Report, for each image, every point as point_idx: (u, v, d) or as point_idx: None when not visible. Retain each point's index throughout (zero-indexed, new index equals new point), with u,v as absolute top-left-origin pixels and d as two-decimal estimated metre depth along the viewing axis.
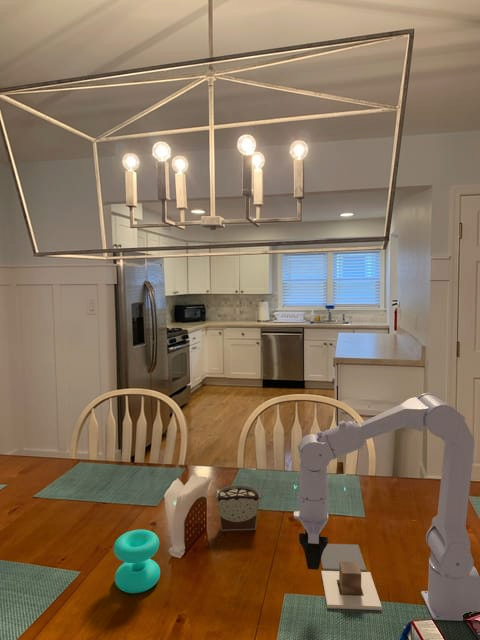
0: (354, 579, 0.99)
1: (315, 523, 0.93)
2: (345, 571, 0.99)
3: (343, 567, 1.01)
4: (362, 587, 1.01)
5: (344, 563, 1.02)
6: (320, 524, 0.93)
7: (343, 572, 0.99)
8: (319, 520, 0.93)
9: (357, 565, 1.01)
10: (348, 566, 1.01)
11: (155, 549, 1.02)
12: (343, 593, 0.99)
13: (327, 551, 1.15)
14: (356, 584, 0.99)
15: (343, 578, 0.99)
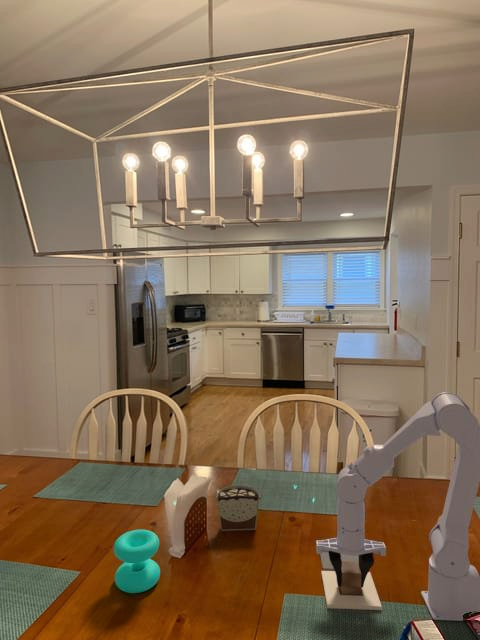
0: (354, 578, 0.99)
1: (336, 545, 1.00)
2: (345, 571, 0.99)
3: (343, 567, 1.01)
4: (362, 587, 1.01)
5: (344, 563, 1.02)
6: (337, 549, 0.99)
7: (343, 572, 0.99)
8: (339, 545, 0.99)
9: (357, 565, 1.01)
10: (348, 566, 1.01)
11: (155, 549, 1.02)
12: (343, 593, 0.99)
13: None
14: (356, 584, 0.99)
15: (343, 578, 0.99)
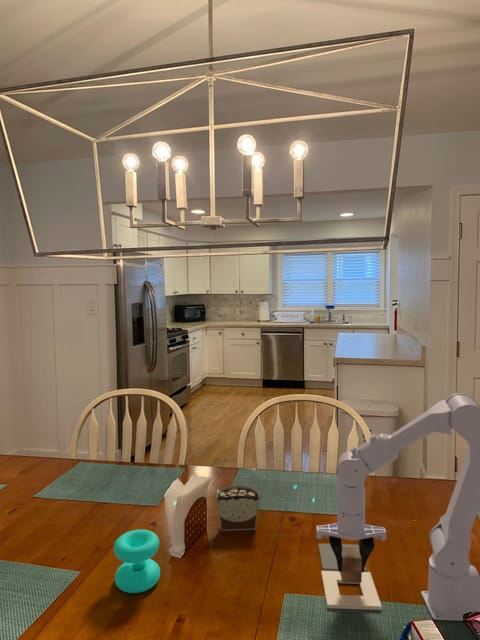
0: (355, 563, 0.98)
1: (336, 530, 1.00)
2: (345, 556, 0.99)
3: (344, 552, 1.00)
4: (362, 587, 1.01)
5: (344, 548, 1.02)
6: (338, 533, 0.99)
7: (343, 557, 0.99)
8: (339, 530, 0.99)
9: (357, 550, 1.01)
10: (348, 551, 1.01)
11: (155, 549, 1.02)
12: (343, 578, 0.99)
13: (327, 551, 1.15)
14: (357, 569, 0.99)
15: (343, 563, 0.99)
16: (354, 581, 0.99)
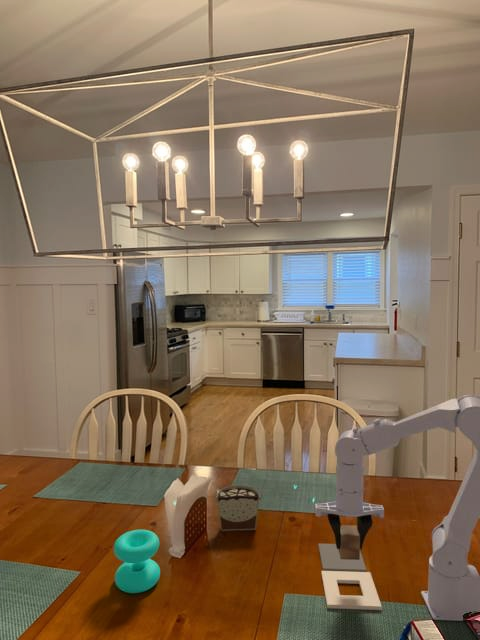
0: (353, 541, 1.00)
1: (335, 508, 1.01)
2: (344, 533, 1.01)
3: (342, 530, 1.02)
4: (362, 587, 1.01)
5: (343, 526, 1.03)
6: (336, 511, 1.00)
7: (342, 534, 1.00)
8: (338, 508, 1.00)
9: (356, 528, 1.03)
10: (347, 529, 1.02)
11: (155, 549, 1.02)
12: (342, 555, 1.00)
13: (327, 551, 1.15)
14: (355, 546, 1.00)
15: (342, 540, 1.00)
16: (352, 558, 1.00)
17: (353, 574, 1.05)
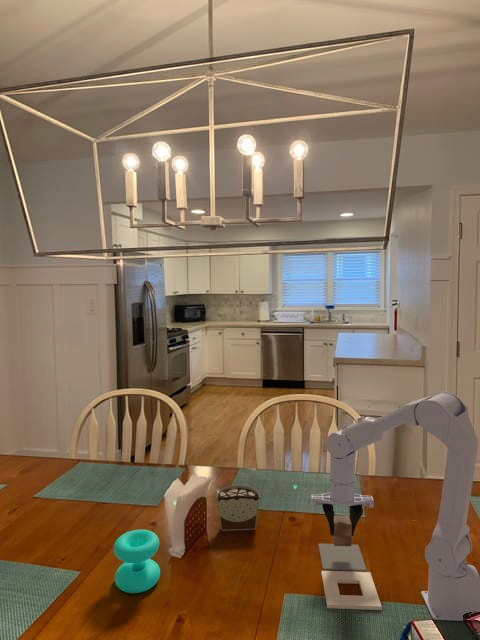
0: (345, 529, 1.10)
1: (329, 498, 1.11)
2: (337, 522, 1.11)
3: (336, 520, 1.12)
4: (362, 587, 1.01)
5: (336, 516, 1.13)
6: (330, 501, 1.10)
7: (335, 523, 1.10)
8: (331, 498, 1.11)
9: (348, 518, 1.13)
10: (340, 519, 1.12)
11: (155, 549, 1.02)
12: (335, 542, 1.10)
13: (327, 551, 1.15)
14: (347, 534, 1.10)
15: (335, 528, 1.10)
16: (345, 545, 1.10)
17: (353, 574, 1.05)
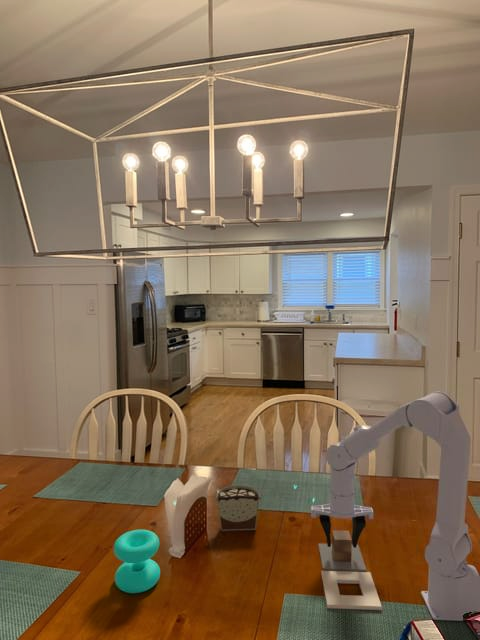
0: (345, 544, 1.10)
1: (329, 509, 1.12)
2: (337, 538, 1.11)
3: (336, 535, 1.12)
4: (362, 587, 1.01)
5: (336, 531, 1.14)
6: (330, 512, 1.11)
7: (335, 539, 1.11)
8: (331, 510, 1.11)
9: (348, 533, 1.13)
10: (340, 534, 1.13)
11: (155, 549, 1.02)
12: (335, 558, 1.11)
13: (327, 551, 1.15)
14: (347, 550, 1.10)
15: (335, 544, 1.10)
16: (345, 560, 1.11)
17: (353, 574, 1.05)
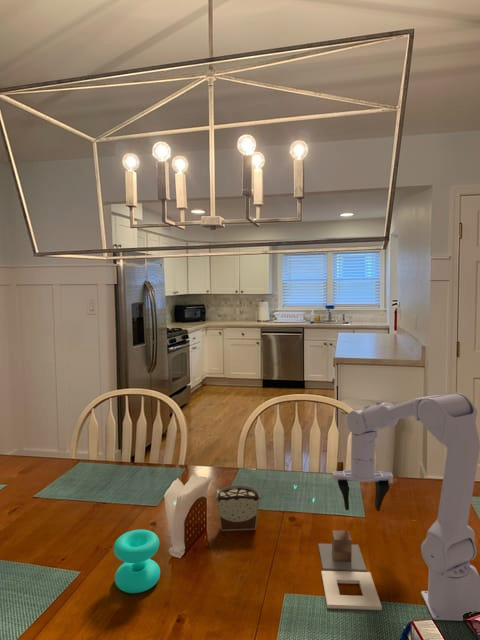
0: (345, 544, 1.10)
1: (350, 474, 1.17)
2: (337, 538, 1.11)
3: (336, 535, 1.12)
4: (362, 587, 1.01)
5: (336, 531, 1.14)
6: (351, 477, 1.16)
7: (335, 539, 1.11)
8: (353, 474, 1.16)
9: (348, 533, 1.13)
10: (340, 534, 1.13)
11: (155, 549, 1.02)
12: (335, 558, 1.11)
13: (327, 551, 1.15)
14: (347, 550, 1.10)
15: (335, 544, 1.10)
16: (345, 560, 1.11)
17: (353, 574, 1.05)
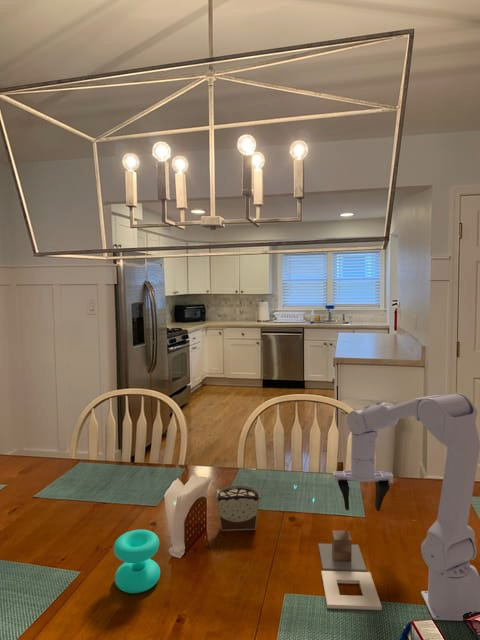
0: (345, 544, 1.10)
1: (350, 474, 1.17)
2: (337, 538, 1.11)
3: (336, 535, 1.12)
4: (362, 587, 1.01)
5: (336, 531, 1.14)
6: (351, 477, 1.16)
7: (335, 539, 1.11)
8: (353, 474, 1.16)
9: (348, 533, 1.13)
10: (340, 534, 1.13)
11: (155, 549, 1.02)
12: (335, 558, 1.11)
13: (327, 551, 1.15)
14: (347, 550, 1.10)
15: (335, 544, 1.10)
16: (345, 560, 1.11)
17: (353, 574, 1.05)
